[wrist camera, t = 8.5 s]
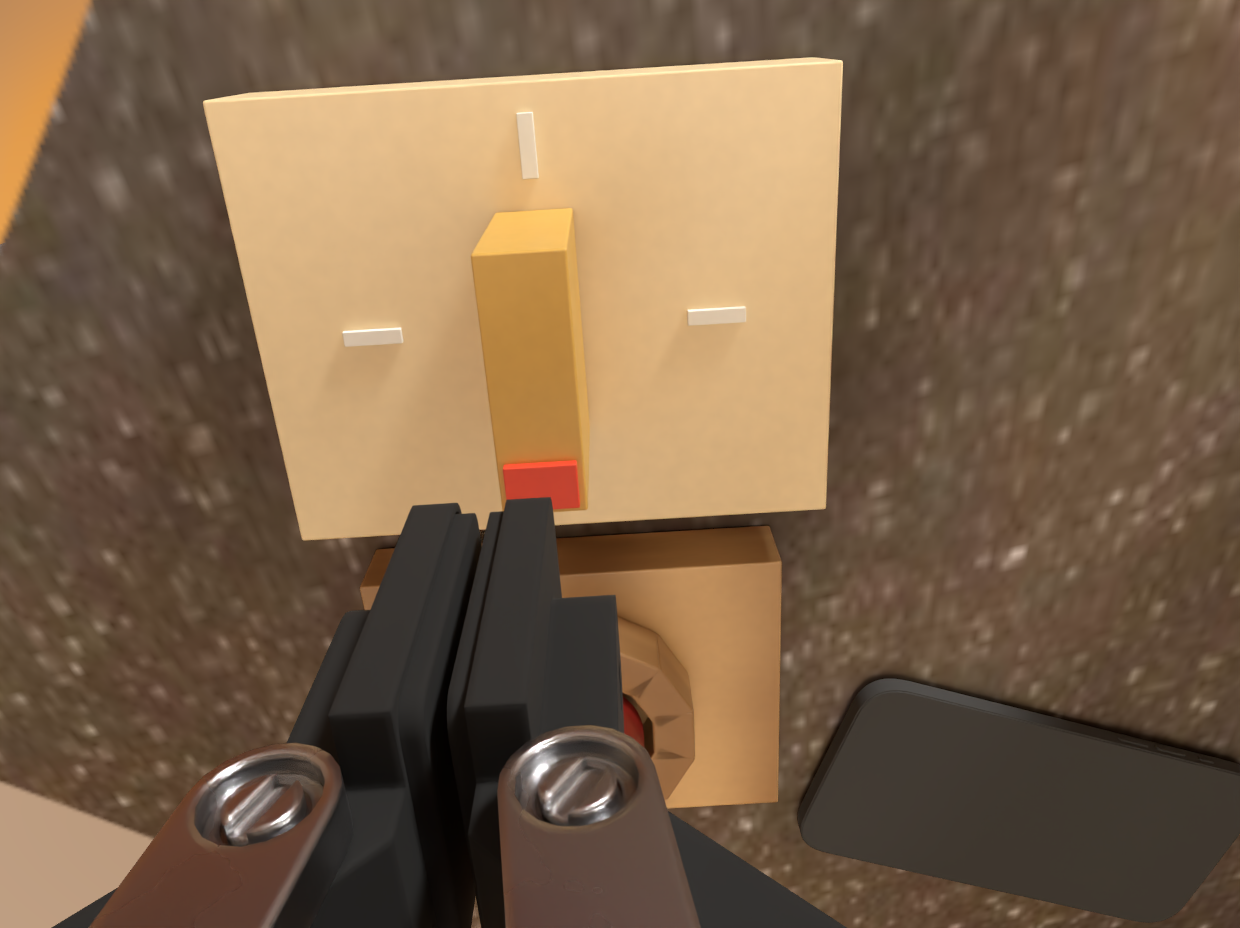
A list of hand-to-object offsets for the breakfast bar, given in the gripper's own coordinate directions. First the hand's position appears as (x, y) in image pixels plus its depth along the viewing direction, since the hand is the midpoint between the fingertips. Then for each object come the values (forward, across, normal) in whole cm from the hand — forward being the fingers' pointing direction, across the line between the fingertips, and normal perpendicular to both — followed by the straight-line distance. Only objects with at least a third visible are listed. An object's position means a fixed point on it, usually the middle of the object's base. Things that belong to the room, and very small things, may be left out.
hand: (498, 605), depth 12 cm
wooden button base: (+15, 0, +12) cm, 19 cm away
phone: (+15, -15, +19) cm, 28 cm away
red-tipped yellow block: (+12, 0, 0) cm, 12 cm away
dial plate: (+15, 0, 0) cm, 15 cm away
